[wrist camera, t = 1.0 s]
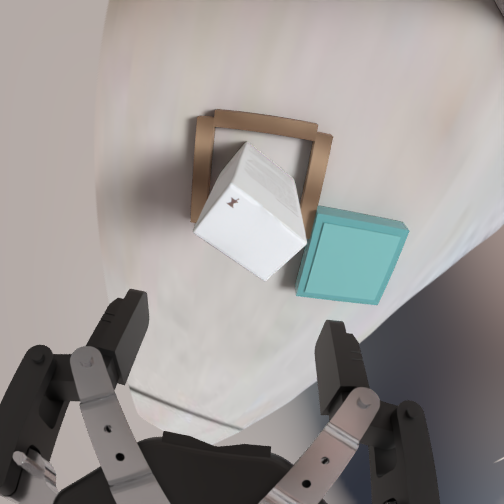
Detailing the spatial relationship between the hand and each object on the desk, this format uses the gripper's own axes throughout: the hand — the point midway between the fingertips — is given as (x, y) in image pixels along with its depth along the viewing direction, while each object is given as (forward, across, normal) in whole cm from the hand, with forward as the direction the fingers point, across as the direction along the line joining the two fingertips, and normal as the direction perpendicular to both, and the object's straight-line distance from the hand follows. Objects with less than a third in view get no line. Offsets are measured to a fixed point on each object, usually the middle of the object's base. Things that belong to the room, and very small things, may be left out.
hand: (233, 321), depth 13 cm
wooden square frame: (+18, 0, -1) cm, 18 cm away
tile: (+18, -11, +6) cm, 22 cm away
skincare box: (+19, 0, -1) cm, 19 cm away
